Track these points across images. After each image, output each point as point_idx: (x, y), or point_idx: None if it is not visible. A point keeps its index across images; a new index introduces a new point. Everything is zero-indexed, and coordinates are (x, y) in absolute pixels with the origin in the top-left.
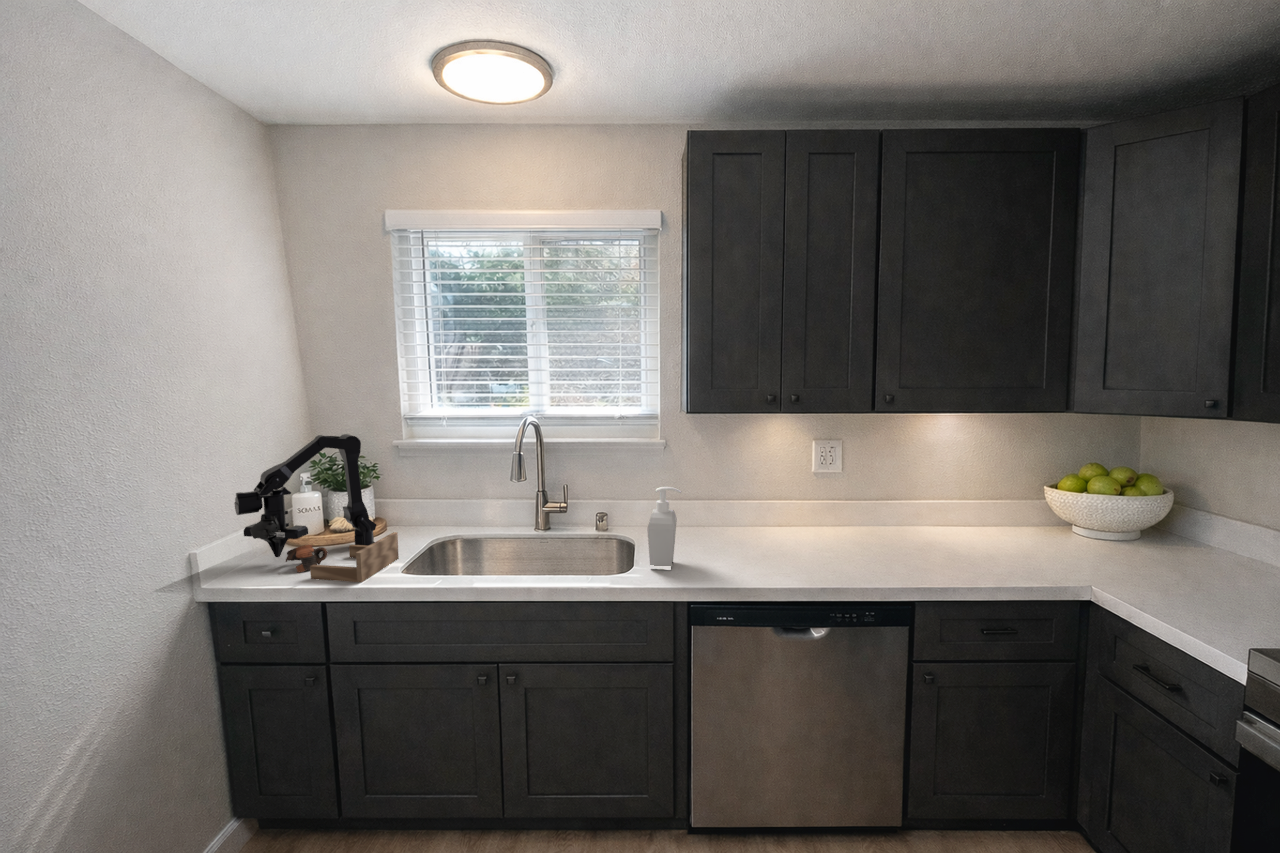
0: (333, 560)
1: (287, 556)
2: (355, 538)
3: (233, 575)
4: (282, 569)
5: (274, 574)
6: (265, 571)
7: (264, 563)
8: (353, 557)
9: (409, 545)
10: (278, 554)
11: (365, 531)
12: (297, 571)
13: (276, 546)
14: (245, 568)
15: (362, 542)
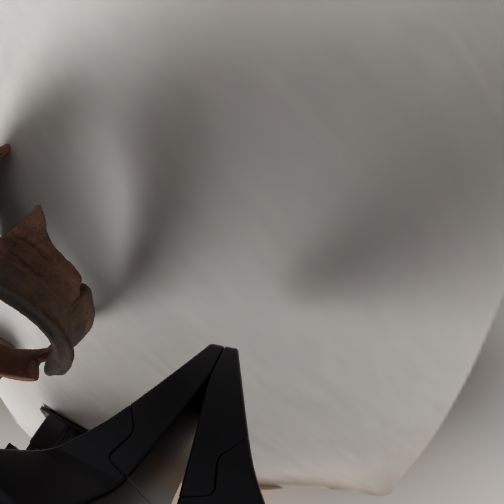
0: (23, 328)
1: (3, 239)
2: (48, 446)
3: (463, 15)
4: (114, 185)
5: (100, 67)
6: (223, 113)
7: (370, 323)
8: (2, 340)
9: (7, 396)
10: (190, 363)
11: (11, 447)
12: (3, 146)
13: (138, 432)
14: (474, 201)
15: (40, 426)
